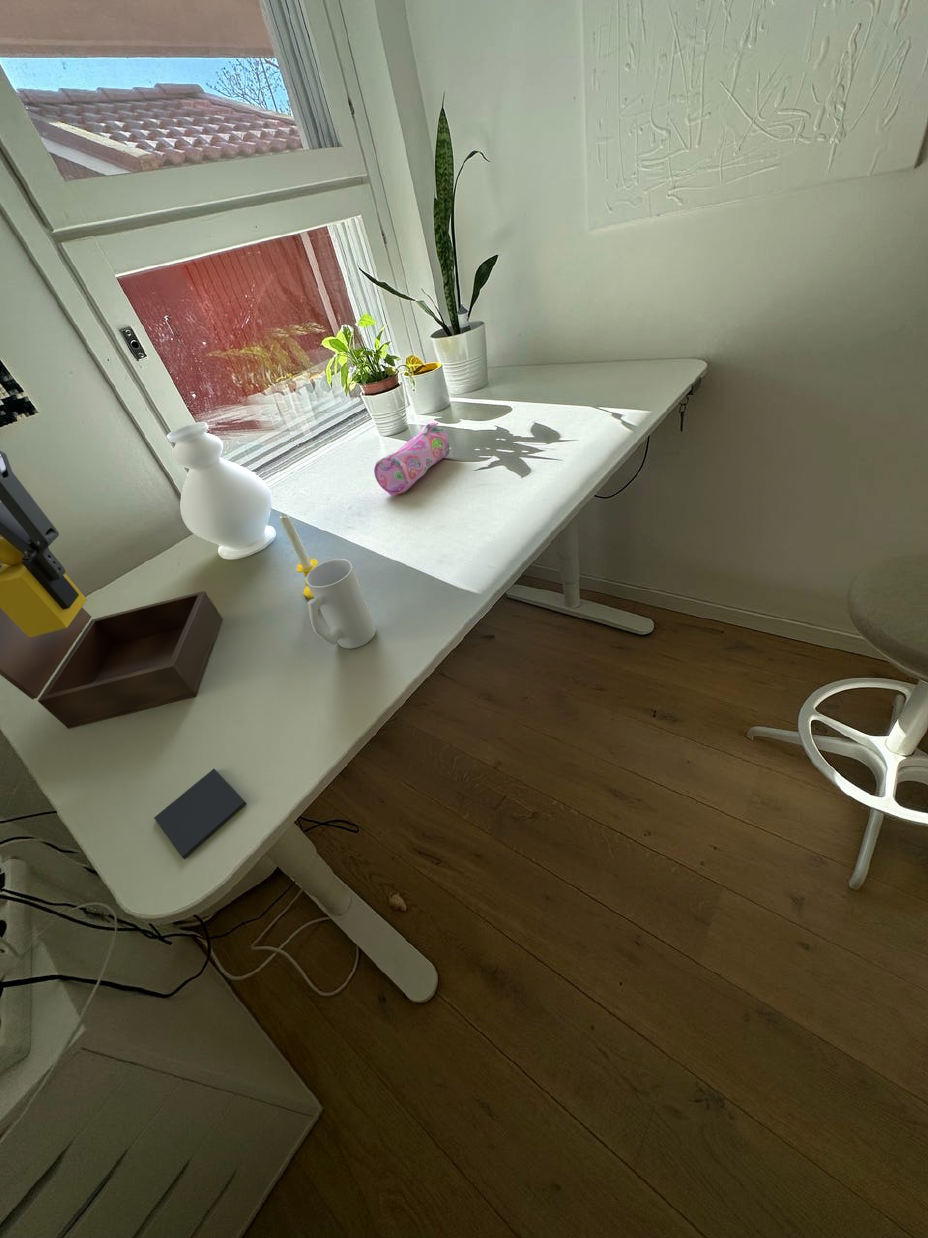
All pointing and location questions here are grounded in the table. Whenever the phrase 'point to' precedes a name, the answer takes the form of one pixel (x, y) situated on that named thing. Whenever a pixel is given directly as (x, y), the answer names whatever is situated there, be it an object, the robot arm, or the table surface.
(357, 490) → the table surface
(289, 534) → the candle
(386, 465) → the pencil case
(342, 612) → the mug
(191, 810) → the coaster
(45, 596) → the duck
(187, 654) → the chest
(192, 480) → the decorative vase
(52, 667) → the lid
